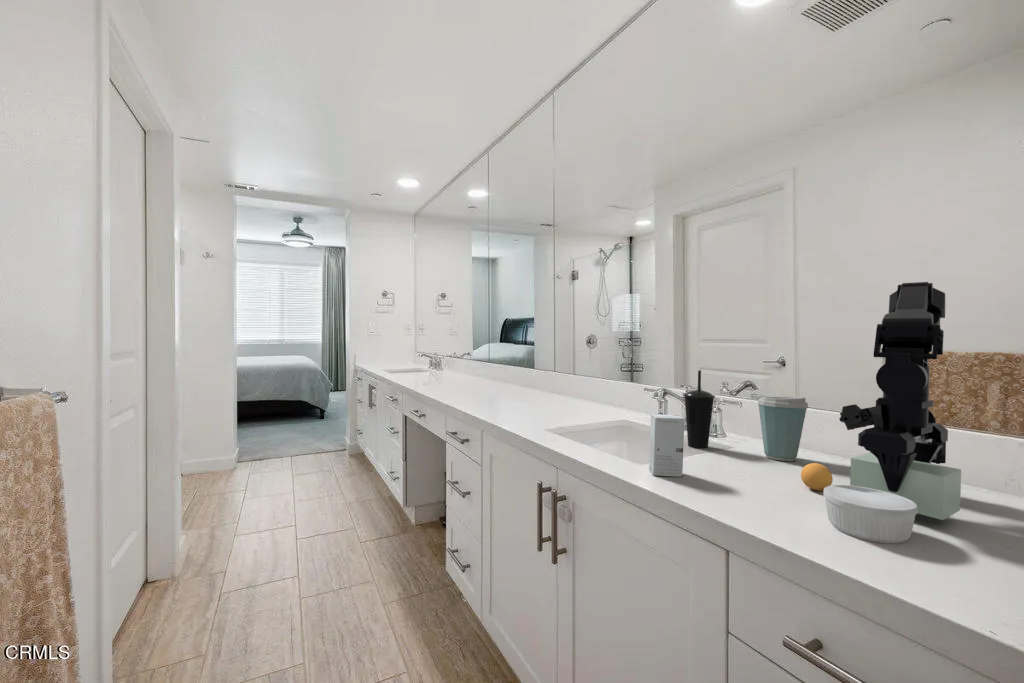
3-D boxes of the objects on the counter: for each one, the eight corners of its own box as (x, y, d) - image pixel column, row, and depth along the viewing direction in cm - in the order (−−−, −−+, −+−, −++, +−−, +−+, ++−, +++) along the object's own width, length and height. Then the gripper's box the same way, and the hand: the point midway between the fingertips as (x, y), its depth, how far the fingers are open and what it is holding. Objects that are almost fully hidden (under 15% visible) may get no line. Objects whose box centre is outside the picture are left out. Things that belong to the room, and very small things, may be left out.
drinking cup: (717, 451, 115) (718, 372, 115) (685, 449, 116) (686, 371, 116) (710, 444, 122) (711, 370, 122) (680, 442, 124) (681, 369, 124)
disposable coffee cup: (748, 457, 109) (750, 395, 109) (765, 450, 117) (766, 391, 117) (799, 466, 102) (800, 400, 101) (813, 458, 109) (814, 396, 109)
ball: (808, 484, 90) (809, 458, 89) (837, 491, 85) (838, 465, 85) (795, 488, 87) (795, 462, 87) (824, 496, 83) (824, 468, 83)
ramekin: (889, 520, 72) (890, 487, 72) (937, 552, 61) (938, 514, 61) (810, 513, 75) (811, 481, 75) (843, 543, 64) (844, 505, 64)
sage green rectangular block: (869, 488, 82) (870, 452, 82) (960, 510, 72) (961, 469, 72) (850, 495, 78) (850, 457, 78) (943, 520, 68) (944, 476, 68)
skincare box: (653, 476, 93) (654, 417, 93) (648, 469, 97) (649, 413, 97) (684, 477, 93) (685, 418, 92) (677, 470, 97) (678, 414, 97)
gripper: (871, 385, 87) (869, 467, 87) (823, 390, 77) (821, 482, 77) (950, 392, 77) (947, 483, 77) (906, 398, 67) (903, 503, 67)
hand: (902, 487), depth 75 cm, fingers closed on sage green rectangular block, 8 cm apart
